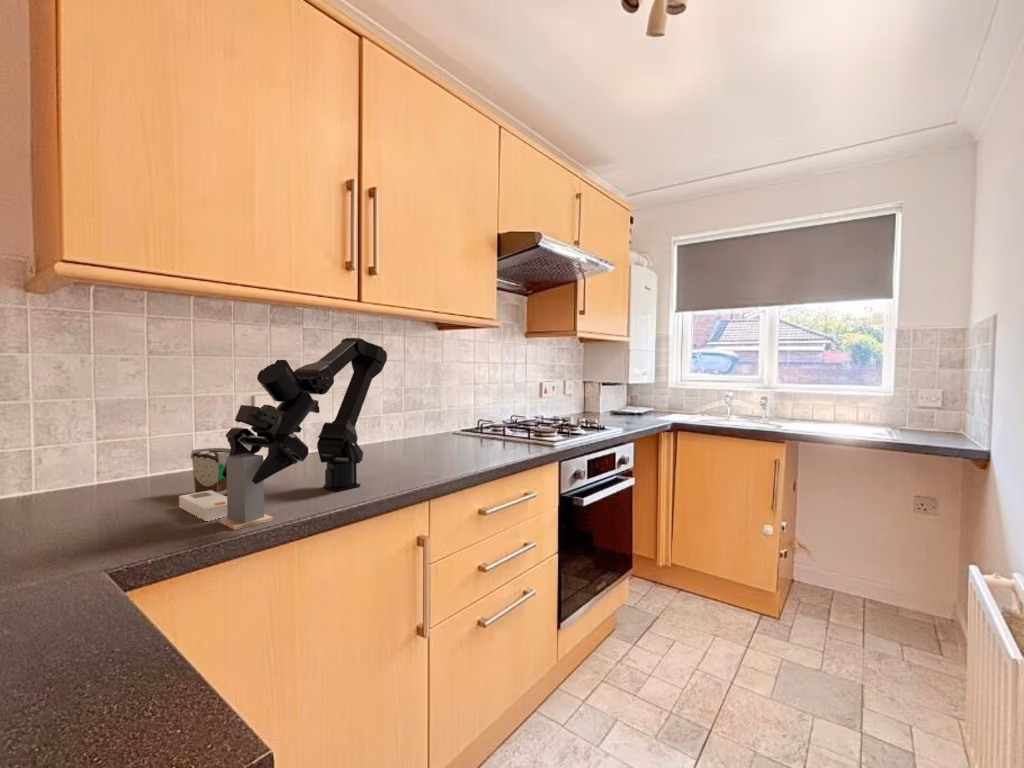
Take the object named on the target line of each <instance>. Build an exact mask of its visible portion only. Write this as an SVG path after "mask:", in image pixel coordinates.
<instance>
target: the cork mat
mask: <svg viewBox="0 0 1024 768" xmlns="http://www.w3.org/2000/svg"><path fill="white" fill-rule="evenodd" d="M273 521H274V517H273V516H271V515H268V514H267V513H264V517H263V518H260V519H256V520H253V521H250V522H247V523H242V522H238V521H233V520H229V519H228V517H225V518H221V519H218V523H220V524H222V525H224V526H226V525H227V526H226V527H228V528H230V529H232V530H233V529H234V531H237V530H240V528H241V529H245V528H248V527H249V528H250V527H252V526H253V527H254V526H256V525H260V524H266V523H269V522H273ZM244 527H245V528H244ZM236 529H237V530H236Z"/></svg>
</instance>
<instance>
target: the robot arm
mask: <svg viewBox="0 0 1024 768" xmlns="http://www.w3.org/2000/svg"><path fill="white" fill-rule="evenodd" d="M387 360H388V353H387V351H386V350H385V349H384V348H383V347H382V346H381V345H377V344H374V343H371V342H368V341H366V340H364V339H363V338H360V337H346V338H343V339H342V340H341V341H340V343H339V344H338V345H337V346H335V347H334V348H333V349H332V350H330V351H329V352H328V353H326V354H325V355H323V357H321V358H320V359H319V360H317V361H315V362H313V363H308V364H305V365H302V366H301V367H297V368H296V369H295V370H293V369H292V368H291V366H290V363H289V362H288V360H286V359H277V360H276V361H275V362H274V363H271V364H270V365H267V366H265V367H264V368H263V369H261V370H260V371H259V372H258V374H257V377H256V379H257V382H258V383H259V384H260V385H261V386H262V387H263V389H264V391H266V392H267V394H268V395H269V396H270V397H271V399H273V401H275V402H279V404H278V406H277V407H275V406H273V405H271V404H263V405H262V406H261V407H260V406H254V405H246V404H245V405H243V404H240V406H239V409H238V411H237V413H236V416H235V419H234V421H235V422H237V423H243V424H245V425H248V426H251V427H250V429H249V428H247V427H238V426H237V427H231V428H230V429H229V431H227V432H226V434H225V438H226V440H227V442H228V444H229V447H230V449H231V450H230V454H229V456H234V455H239V454H244V453H247V454H255V455H256V454H257V453H259V452H260V451H261V450H262V449H263V448H266V449H267V450H268V451H267V455H266V457H265V458H264V459H263V463H262V465H261V466H260V468H259V469H258V471H257V472H256V474H255V475H254V477H253V479H252V482H253V483H254V484H258V483H259V482H261V481H263V480H266V479H268V478H270V477H271V476H272V477H273V475H275V474H277V473H279V472H281V471H282V470H285V469H287V468H288V467H290V466H292V465H297V464H298V462H301V463H304V461H305V460H306V458H307V457H308V455H310V454H309V453H310V452H309V446H308V445H307V444H305V443H304V442H303V440H301V438H300V437H298V436H297V435H296V434H295V433H297V434H298V433H301V431H302V430H303V428H302V427H301V426H300V425H301V424H302V423H303V422H304V420H305V418H306V417H307V416H308V415H309V414H310V413H313V414H314V413H315V414H319V413H320V410H321V409H320V406H319V400H316V399H314V397H312V396H311V395H321V396H322V395H325V394H326V393H328V391H330V389H331V388H332V386H333V385H334V384H335V376H336V375H337V374H338V373H339V372H341V371H342V370H343V369H344V368H345V367H346V366H347V365H348V364H349V363H350V364H351V367H352V370H353V373H352V376H351V378H350V381H349V383H348V385H347V388H346V391H345V394H344V396H343V399H342V401H341V404H340V406H339V409H338V411H337V413H336V417H335V419H334V420H333V421H332V422H324V423H323V425H322V428H321V431H320V433H319V435H318V436H317V438H318V441H317V444H316V449H317V452H318V456H319V459H320V463H323V464H324V463H326V469H325V471H324V481H325V483H324V484H323V485H322V486H323V488H326V489H330V490H332V491H335V492H336V491H337V492H339V491H345V490H348V489H353V488H357V487H361V483H358V482H357V481H358V480H357V468H358V467H357V464H360V463H361V462H362V461H363V458H364V457H363V456H364V452H363V450H362V448H361V447H360V446H359V444H358V434H357V429H356V425H357V422H358V419H359V417H360V413H361V410H362V408H363V405H364V402H365V400H366V398H367V394H368V391H369V389H370V385H371V383H372V381H373V379H374V378H375V377H377V376H378V375H380V373H381V372H382V371H383V369H384V366H385V364H386V363H387ZM254 433H256V434H254ZM222 476H223V477H224V478H227V468H226V465H225V467H224V470H223V472H222Z"/></svg>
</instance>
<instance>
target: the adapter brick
mask: <svg viewBox="0 0 1024 768" xmlns="http://www.w3.org/2000/svg"><path fill="white" fill-rule="evenodd" d="M263 461H264V455H261V454H256V453H255V454H247V453H244V454H239V455H234V456H228V457H226V468H227V496H226V497H227V515H228V519H229V520H233V521H238V522H242V523H247V522H250V521H253V520H256V519H260V518H263V517H264V514H265V488H264V487H265V483H264V480H263V481H261V482H259V483H258V484H254V483H253V482H252V479H253V477H254V475H255V474H256V472H257V471H258V469H259V468H260V466H261V465H262V463H263Z"/></svg>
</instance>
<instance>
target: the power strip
mask: <svg viewBox="0 0 1024 768" xmlns="http://www.w3.org/2000/svg"><path fill="white" fill-rule="evenodd" d="M178 502H179V503H178V505H179V507H180V508H179V509H181V508H182V509H181V510H183V509H184V510H185V512H186V511H187V512H186V513H188V512H189V514H190V513H191V514H190V515H192V514H193V515H192V516H194V515H195V516H194V517H196V516H197V517H196V518H198V519H200V518H201V519H203V520H204V521H203V520H202V521H203V522H205V521H208V522H211V520H212V521H216V520H219V519H218V518H223V517H226V516H228V515H227V496H224V495H221V494H219V493H217V492H214V491H212V490H209V491H204V492H198V493H195V492H193V493H188V494H183V495H179V496H178ZM184 510H183V511H184ZM201 519H200V520H201ZM215 519H216V520H215Z"/></svg>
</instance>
